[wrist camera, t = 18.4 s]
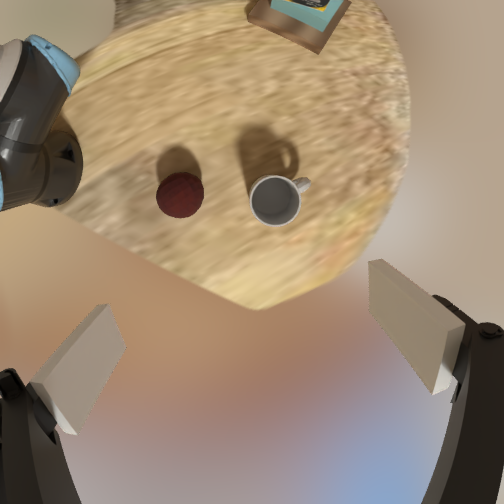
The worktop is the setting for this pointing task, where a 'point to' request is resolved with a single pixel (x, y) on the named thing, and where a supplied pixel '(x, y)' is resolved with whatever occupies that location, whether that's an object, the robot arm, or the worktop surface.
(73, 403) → the robot arm
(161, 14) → the worktop surface
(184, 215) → the dark red textured ball
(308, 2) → the medicine bottle
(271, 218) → the cup
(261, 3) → the tower base slab
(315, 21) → the tower top block
